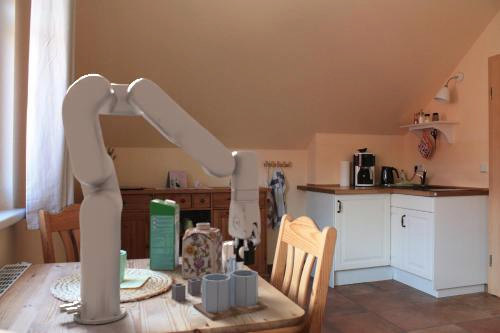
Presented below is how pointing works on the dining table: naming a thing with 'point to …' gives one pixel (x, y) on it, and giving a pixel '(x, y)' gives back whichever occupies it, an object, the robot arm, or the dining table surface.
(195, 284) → the stand
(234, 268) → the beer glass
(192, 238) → the decorative jar
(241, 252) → the ivory ball
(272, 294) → the dining table surface
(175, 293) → the stand
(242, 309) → the rack board
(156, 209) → the milk carton
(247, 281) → the tubes
